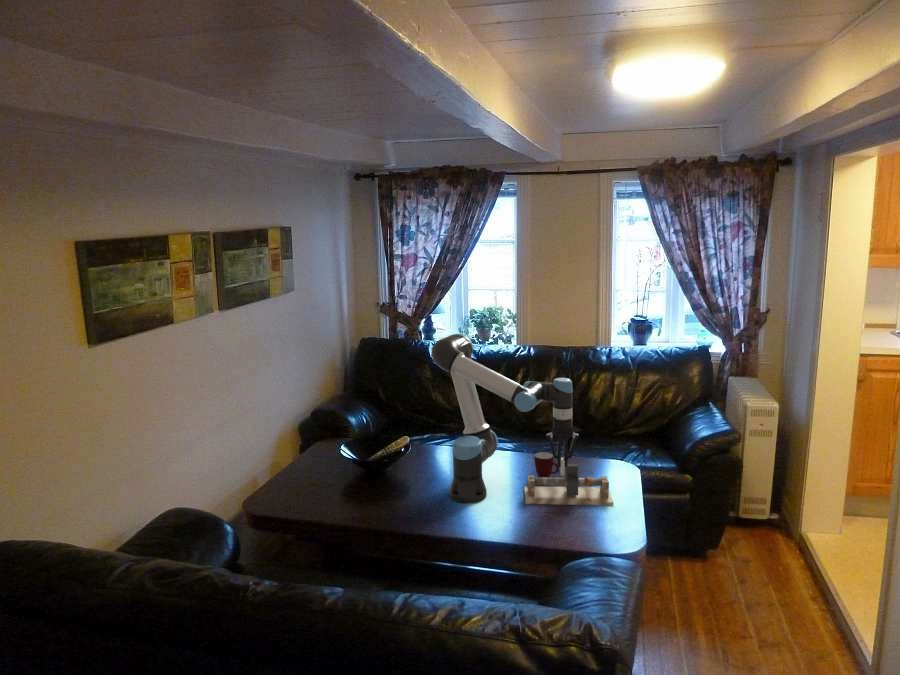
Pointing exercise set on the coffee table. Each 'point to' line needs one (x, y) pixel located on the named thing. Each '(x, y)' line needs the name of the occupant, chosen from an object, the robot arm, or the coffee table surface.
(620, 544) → the coffee table surface
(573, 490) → the collar
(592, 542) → the coffee table surface
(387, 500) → the coffee table surface
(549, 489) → the pipe rig
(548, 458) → the mug
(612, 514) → the coffee table surface
